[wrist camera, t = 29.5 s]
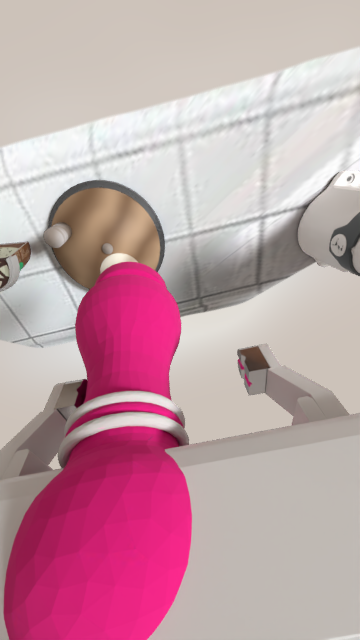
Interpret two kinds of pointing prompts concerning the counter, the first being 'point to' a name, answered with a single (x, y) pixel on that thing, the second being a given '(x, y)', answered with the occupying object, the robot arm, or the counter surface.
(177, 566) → the pepper mill
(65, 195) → the base
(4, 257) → the food container
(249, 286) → the counter surface
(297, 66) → the counter surface
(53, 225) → the turntable
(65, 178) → the counter surface
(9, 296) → the counter surface
